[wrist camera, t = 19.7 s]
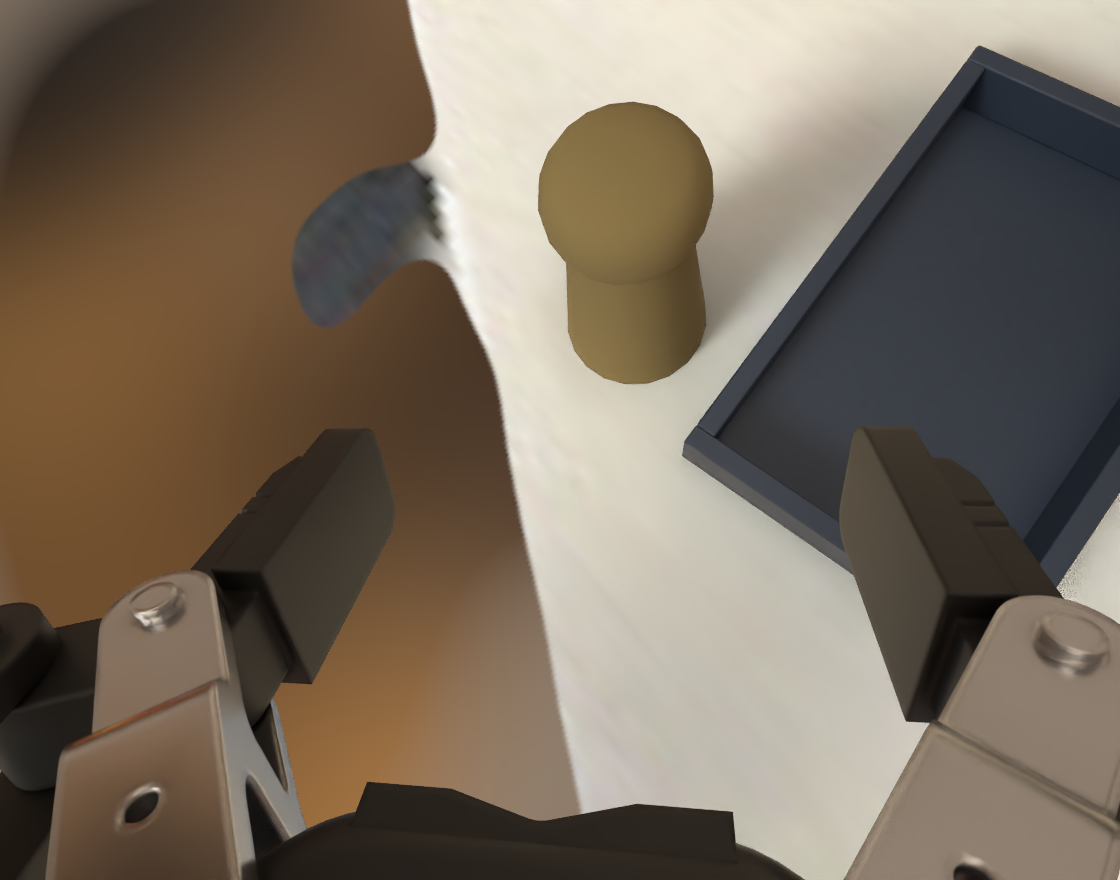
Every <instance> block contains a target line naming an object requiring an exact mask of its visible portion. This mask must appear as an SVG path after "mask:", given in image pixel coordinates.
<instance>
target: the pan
mask: <svg viewBox="0 0 1120 880" xmlns="http://www.w3.org/2000/svg"><path fill="white" fill-rule="evenodd" d="M859 426H912V427H913V428H914V429H915V431H916V432H917V434H918V435H919V437H920V438H921V440H922V442H923V443H924V445H925V446H926V448H927V449H928V451H929V453H930V454H931V456H932V457H933V458H951V459H952V460H953V461H955V462H956V463H958V464H959V465H961V466H962V467H963V468H965V469H966V470H968V471H969V472H971V473H972V474H974V475H975V476H976V477H978V478H979V479H980V481H981V482H982V484H983V485H984V486H985V488H986V489H987V491H988V492H989V493H990V495H991V496H992V498H993V499H994V501H995V506H996V507H999V508H1000V509H1001V510H1002V512H1003V513H1004V515H1005V516H1006V518H1007V519H1008V520H1009V526H1010V527H1014V529H1015V530H1016V532H1017V533H1018V535H1019V536H1020V537H1021V539H1022V540H1023V542H1024V543H1025V544H1026V546H1027V547H1028V549H1029V550H1030V552H1031V553H1032V554H1033V556H1034V557H1035V559H1036V560H1037V561H1038V563H1039V564H1040V566H1041V567H1042V569H1043V570H1044V571H1045V573H1046V574H1047V576H1048V577H1049V578H1050V580H1051V581H1052V583H1053V584H1054V586H1055V587H1057V586H1058V584H1059V583H1060V581H1061V580H1062V578H1063V577H1064V575H1065V574H1066V572H1067V571H1068V569H1069V568H1070V566H1071V565H1072V563H1073V562H1074V560H1075V559H1076V557H1077V556H1078V554H1079V553H1080V551H1081V550H1082V548H1083V547H1084V545H1085V544H1086V542H1087V541H1088V539H1089V538H1090V536H1091V535H1092V533H1093V532H1094V530H1095V529H1096V527H1097V526H1098V524H1099V523H1100V521H1101V520H1102V518H1103V517H1104V515H1105V514H1106V512H1107V511H1108V509H1109V508H1110V506H1111V505H1112V503H1113V502H1114V500H1115V499H1116V497H1117V496H1118V494H1119V493H1120V107H1118V106H1116V105H1114V104H1112V103H1109V102H1107V101H1105V100H1102V99H1100V98H1098V97H1096V96H1093V95H1091V94H1089V93H1087V92H1084V91H1082V90H1080V89H1078V88H1075V87H1073V86H1071V85H1068V84H1066V83H1064V82H1062V81H1059V80H1057V79H1055V78H1053V77H1050V76H1048V75H1046V74H1044V73H1041V72H1039V71H1037V70H1034V69H1032V68H1030V67H1028V66H1025V65H1023V64H1021V63H1019V62H1016V61H1014V60H1012V59H1010V58H1007V57H1005V56H1003V55H1000V54H998V53H996V52H994V51H991V50H989V49H987V48H985V47H982V46H978V47H976V49H975V50H974V51H973V53H972V54H971V55H970V57H969V58H968V60H967V61H966V62H965V64H964V65H963V66H962V68H961V69H960V70H959V72H958V73H957V74H956V76H955V77H954V78H953V80H952V81H951V82H950V84H949V85H948V86H947V88H946V89H945V91H944V92H943V93H942V95H941V96H940V97H939V99H938V100H937V101H936V103H935V104H934V105H933V107H932V108H931V109H930V111H929V112H928V113H927V115H926V116H925V118H924V119H923V120H922V122H921V123H920V124H919V126H918V127H917V128H916V130H915V131H914V132H913V134H912V135H911V136H910V138H909V139H908V140H907V142H906V143H905V145H904V146H903V147H902V149H901V150H900V151H899V153H898V154H897V155H896V157H895V158H894V159H893V161H892V162H891V163H890V165H889V166H888V167H887V169H886V170H885V172H884V173H883V174H882V176H881V177H880V178H879V180H878V181H877V182H876V184H875V185H874V186H873V188H872V189H871V190H870V192H869V193H868V194H867V196H866V197H865V199H864V200H863V201H862V203H861V204H860V205H859V207H858V208H857V209H856V211H855V212H854V213H853V215H852V216H851V217H850V219H849V220H848V221H847V223H846V224H845V226H844V227H843V228H842V230H841V231H840V232H839V234H838V235H837V236H836V238H835V239H834V240H833V242H832V243H831V244H830V246H829V247H828V248H827V250H826V251H825V253H824V254H823V255H822V257H821V258H820V259H819V261H818V262H817V263H816V265H815V266H814V267H813V269H812V270H811V271H810V273H809V274H808V275H807V277H806V278H805V280H804V281H803V282H802V284H801V285H800V286H799V288H798V289H797V290H796V292H795V293H794V294H793V296H792V297H791V298H790V300H789V301H788V302H787V304H786V305H785V307H784V308H783V309H782V311H781V312H780V313H779V315H778V316H777V317H776V319H775V320H774V321H773V323H772V324H771V325H770V327H769V328H768V329H767V331H766V332H765V334H764V335H763V336H762V338H761V339H760V340H759V342H758V343H757V344H756V346H755V347H754V348H753V350H752V351H751V352H750V354H749V355H748V356H747V358H746V359H745V361H744V362H743V363H742V365H741V366H740V367H739V369H738V370H737V371H736V373H735V374H734V375H733V377H732V378H731V379H730V381H729V382H728V383H727V385H726V386H725V388H724V389H723V390H722V392H721V393H720V394H719V396H718V397H717V398H716V400H715V401H714V402H713V404H712V405H711V406H710V408H709V409H708V410H707V412H706V413H705V415H704V416H703V417H702V419H701V420H700V421H699V423H698V425H697V426H696V427H695V428H694V429H693V431H692V432H691V433H690V435H689V436H688V437H687V439H686V440H685V442H684V448H683V455H682V456H683V457H685V458H686V459H688V460H689V461H690V462H692V463H693V464H695V465H696V466H698V467H699V468H701V469H702V470H703V471H705V472H706V473H708V474H709V475H711V476H712V477H714V478H715V479H716V480H718V481H719V482H721V483H722V484H724V485H725V486H727V487H728V488H729V489H731V490H732V491H734V492H735V493H737V494H738V495H739V496H741V497H742V498H744V499H745V500H747V501H748V502H750V503H751V504H752V505H754V506H755V507H757V508H758V509H760V510H761V511H763V512H764V513H765V514H767V515H768V516H770V517H771V518H773V519H774V520H776V521H777V522H778V523H780V524H781V525H783V526H784V527H786V528H787V529H788V530H790V531H791V532H793V533H794V534H796V535H797V536H799V537H800V538H801V539H803V540H804V541H806V542H807V543H809V544H810V545H812V546H813V547H814V548H816V549H817V550H819V551H820V552H822V553H823V554H825V555H826V556H827V557H829V558H830V559H832V560H833V561H835V562H836V563H838V564H839V565H840V566H842V567H843V568H845V569H846V570H848V571H849V572H850V573H852V574H853V571H852V568H851V565H850V563H849V560H848V557H847V554H846V551H845V548H844V546H843V542H842V538H841V533H840V522H839V513H840V503H841V497H842V492H843V486H844V481H845V475H846V470H847V465H848V459H849V454H850V448H851V443H852V438H853V435H854V432H855V430H856V428H857V427H859ZM853 575H854V574H853Z"/></svg>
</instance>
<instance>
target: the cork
mask: <svg viewBox="0 0 1120 880" xmlns="http://www.w3.org/2000/svg"><path fill="white" fill-rule="evenodd" d="M713 197H714V196H713V174H712V168H711V165H710V162H709V159H708V157H707V154H706V152H705V150H704V148H703V145H702V143H701V141H700V138H699V137H698V136H697V135H696V134H695V133H694V132H693V131H692V130H691V129H690V128H689V127H688V126H687V125H686V124H685V123H684V122H683V121H682V120H681V119H679V118H678V117H677V116H675V115H673V114H671V113H669V112H667V111H665V110H663V109H661V108H659V107H657V106H654V105H648V104H642V103H637V102H627V103H617V104H609V105H606V106H603V107H601V108H598V109H596V110H593V111H590V112H588V113H586V114H584V115H583V116H582V117H580V118H579V119H578V120H576V121H575V122H574V123H572V124H571V125H569V126H568V127H567V128H566V130H565V131H564V132H563V134H562V135H561V136H560V137H559V139H558V140H557V141H556V143H555V144H554V145H553V146H552V148H551V149H550V150H549V152H548V154H547V156H546V159H545V162H544V165H543V167H542V170H541V173H540V177H539V195H538V211H539V214H540V217H541V220H542V222H543V225H544V228H545V231H546V234H547V237H548V240H549V242H550V244H551V245H552V246H553V247H554V249H555V250H556V251H557V252H558V254H559V255H560V256H561V257H562V259H563V260H564V261H565V262H566V270H567V304H568V332H569V335H570V338H571V341H572V344H573V347H574V350H575V352H576V353H577V354H578V355H579V357H580V358H581V359H582V361H583V362H584V363H585V364H586V366H587V367H588V368H590V369H592V370H593V371H595V372H596V373H598V374H599V375H601V376H602V377H604V378H606V379H609V380H613V381H617V382H620V383H624V384H640V383H650V382H653V381H656V380H659V379H662V378H665V377H668V376H670V375H671V374H673V373H674V372H675V371H677V370H678V369H679V368H681V367H682V366H683V365H685V364H686V363H687V362H688V361H689V359H690V358H691V357H692V355H693V354H694V353H695V351H696V350H697V348H698V347H699V346H700V343H701V340H702V336H703V333H704V330H705V327H706V314H705V301H704V295H703V288H702V282H701V276H700V270H699V264H698V257H697V251H696V245H695V244H696V243H697V242H698V240H699V239H700V237H701V236H702V234H703V233H704V230H705V227H706V224H707V221H708V218H709V215H710V211H711V208H712V203H713Z"/></svg>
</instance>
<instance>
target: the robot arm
mask: <svg viewBox="0 0 1120 880" xmlns="http://www.w3.org/2000/svg"><path fill="white" fill-rule="evenodd" d="M394 520H395V502H394V497H393V493H392V490H391V486H390V482H389V479H388V476H387V472H386V468H385V465H384V461H383V458H382V454H381V451H380V447H379V444H378V440H377V437H376V435H375V434H374V432H373V431H372V430H370V429H327V430H325V431H323V432H322V434H321V435H320V436H319V437H318V438H317V440H316V441H315V442H314V443H313V444H312V446H311V447H310V448H309V449H308V450H307V452H306V453H305V454H304V455H303V456H302V457H301V456H300V457H297V458H295V459H294V460H292V461H291V462H289V463H288V464H286V465H285V466H284V467H282V468H280V469H279V470H277V471H276V472H274V473H273V474H272V475H271V476H270V477H269V479H268V480H267V481H266V482H265V483H264V484H263V486H262V487H261V488H260V489H259V490H258V491H257V493H256V497H252V499H251V500H250V501H249V502H248V503H247V504H246V505H245V507H244V508H243V509H242V514H238V515H237V516H236V517H235V518H234V519H233V520H232V522H231V523H230V524H229V525H228V526H227V528H226V529H225V530H224V531H223V532H222V533H221V534H220V536H219V537H218V538H217V539H216V540H215V541H214V543H213V544H212V545H211V546H210V547H209V549H208V550H207V551H206V552H205V553H204V554H203V555H202V557H201V558H200V559H199V560H198V561H197V562H196V564H195V565H194V566H193V567H192V568H191V570H181V571H174V572H170V573H166V574H163V575H159V576H157V577H154V578H152V579H150V580H147V581H145V582H143V583H142V584H139V585H138V586H136V587H134V588H133V589H131V590H130V591H128V592H127V593H126V594H124V595H123V596H122V597H120V598H119V599H118V600H117V601H116V602H115V603H114V604H113V605H112V606H111V607H110V608H109V610H108V611H107V612H106V614H105V615H104V617H103V618H100V619H96V620H90V621H86V622H81V623H76V624H72V625H67V626H63V627H57V628H53V627H52V625H51V624H50V623H49V622H48V620H47V619H46V617H45V616H44V614H43V613H42V612H41V610H40V609H39V608H38V607H37V606H35V605H33V604H29V603H11V604H5V605H1V606H0V770H1V773H0V880H804V879H803V878H802V877H800V876H799V875H797V874H796V873H794V872H793V871H791V870H790V869H788V868H787V867H785V866H783V865H782V864H780V863H779V862H777V861H775V860H773V859H771V858H769V857H767V856H765V855H763V854H762V853H760V852H758V851H756V850H754V849H751V848H748V847H746V846H743V845H740V844H738V843H736V842H735V831H734V820H733V812H729V811H717V810H704V809H692V808H680V807H668V806H656V805H643V804H634V805H629V806H623V807H618V808H612V809H607V810H602V811H596V812H591V813H585V814H580V815H575V816H569V817H564V818H558V819H553V820H547V821H536V820H532V819H528V818H526V817H523V816H520V815H518V814H515V813H513V812H510V811H507V810H505V809H502V808H500V807H497V806H495V805H492V804H489V803H487V802H484V801H482V800H479V799H476V798H474V797H471V796H469V795H466V794H464V793H461V792H458V791H456V790H453V789H448V788H436V787H424V786H411V785H399V784H387V783H375V782H367V784H366V787H365V789H364V792H363V795H362V797H361V800H360V802H359V805H358V807H357V810H356V812H353V813H348V814H345V815H342V816H339V817H336V818H333V819H330V820H326V821H324V822H322V823H320V824H317V825H315V826H313V827H310V828H308V829H307V827H306V824H305V821H304V819H303V815H302V812H301V809H300V805H299V801H298V796H297V792H296V787H295V783H294V778H293V774H292V769H291V765H290V760H289V756H288V751H287V747H286V743H285V738H284V734H283V729H282V725H281V720H280V716H279V711H278V708H277V706H276V704H275V702H274V700H273V696H274V694H275V692H276V691H277V689H278V688H279V686H280V684H281V683H299V684H312V683H313V681H314V679H315V677H316V675H317V673H318V672H319V670H320V668H321V666H322V664H323V662H324V660H325V658H326V656H327V654H328V652H329V650H330V649H331V647H332V645H333V643H334V641H335V639H336V637H337V635H338V633H339V632H340V630H341V627H342V626H343V624H344V622H345V620H346V618H347V616H348V614H349V612H350V610H351V609H352V607H353V605H354V603H355V601H356V599H357V597H358V595H359V593H360V591H361V590H362V588H363V586H364V584H365V582H366V580H367V578H368V576H369V574H370V572H371V570H372V569H373V567H374V565H375V563H376V561H377V559H378V557H379V555H380V553H381V552H382V550H383V548H384V546H385V544H386V542H387V540H388V538H389V536H390V534H391V532H392V529H393V526H394ZM839 522H840V533H841V538H842V542H843V546H844V548H845V551H846V554H847V557H848V560H849V563H850V565H851V568H852V571H853V574H854V577H855V579H856V582H857V585H858V588H859V591H860V594H861V596H862V599H863V602H864V605H865V608H866V610H867V613H868V616H869V619H870V622H871V625H872V627H873V630H874V633H875V636H876V639H877V641H878V644H879V647H880V650H881V653H882V655H883V658H884V661H885V664H886V667H887V670H888V672H889V675H890V678H891V681H892V684H893V686H894V689H895V692H896V695H897V698H898V701H899V703H900V706H901V709H902V712H903V715H904V717H905V720H906V721H908V722H925V723H930V724H929V726H928V727H927V729H926V730H925V732H924V734H923V736H922V737H921V739H920V741H919V743H918V745H917V747H916V748H915V750H914V752H913V754H912V756H911V758H910V759H909V761H908V763H907V765H906V767H905V769H904V770H903V772H902V774H901V776H900V778H899V780H898V781H897V783H896V785H895V787H894V789H893V791H892V792H891V794H890V796H889V798H888V800H887V802H886V803H885V805H884V807H883V809H882V811H881V812H880V814H879V816H878V818H877V820H876V822H875V823H874V825H873V827H872V829H871V831H870V833H869V834H868V836H867V838H866V840H865V842H864V844H863V845H862V847H861V849H860V851H859V853H858V855H857V856H856V858H855V860H854V862H853V864H852V866H851V867H850V869H849V871H848V873H847V875H846V877H845V878H844V880H1117V878H1118V874H1119V870H1120V624H1118V623H1117V622H1115V621H1114V620H1112V619H1111V618H1109V617H1107V616H1105V615H1103V614H1102V613H1100V612H1098V611H1096V610H1094V609H1091V608H1089V607H1087V606H1084V605H1082V604H1079V603H1076V602H1073V601H1070V600H1066V599H1064V598H1063V597H1062V595H1061V594H1060V593H1059V591H1058V590H1057V588H1056V587H1055V586H1054V584H1053V583H1052V581H1051V580H1050V578H1049V577H1048V576H1047V574H1046V573H1045V571H1044V570H1043V569H1042V567H1041V566H1040V564H1039V563H1038V561H1037V560H1036V559H1035V557H1034V556H1033V554H1032V553H1031V552H1030V550H1029V549H1028V547H1027V546H1026V544H1025V543H1024V542H1023V540H1022V539H1021V537H1020V536H1019V535H1018V533H1017V532H1016V530H1015V529H1014V527H1010V526H1009V520H1008V519H1007V518H1006V516H1005V515H1004V513H1003V512H1002V510H1001V509H1000V508H999V507H996V506H995V501H994V499H993V498H992V496H991V495H990V493H989V492H988V491H987V489H986V488H985V486H984V485H983V484H982V482H981V481H980V479H979V478H978V477H976V476H975V475H974V474H972V473H971V472H969V471H968V470H966V469H965V468H963V467H962V466H961V465H959V464H958V463H956V462H955V461H953V460H952V459H951V458H933V457H932V456H931V454H930V453H929V451H928V449H927V448H926V446H925V445H924V443H923V442H922V440H921V438H920V437H919V435H918V434H917V432H916V431H915V429H914V428H913V427H912V426H859V427H857V428H856V430H855V432H854V435H853V438H852V443H851V448H850V454H849V459H848V465H847V470H846V475H845V481H844V486H843V492H842V497H841V503H840V513H839Z"/></svg>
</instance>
